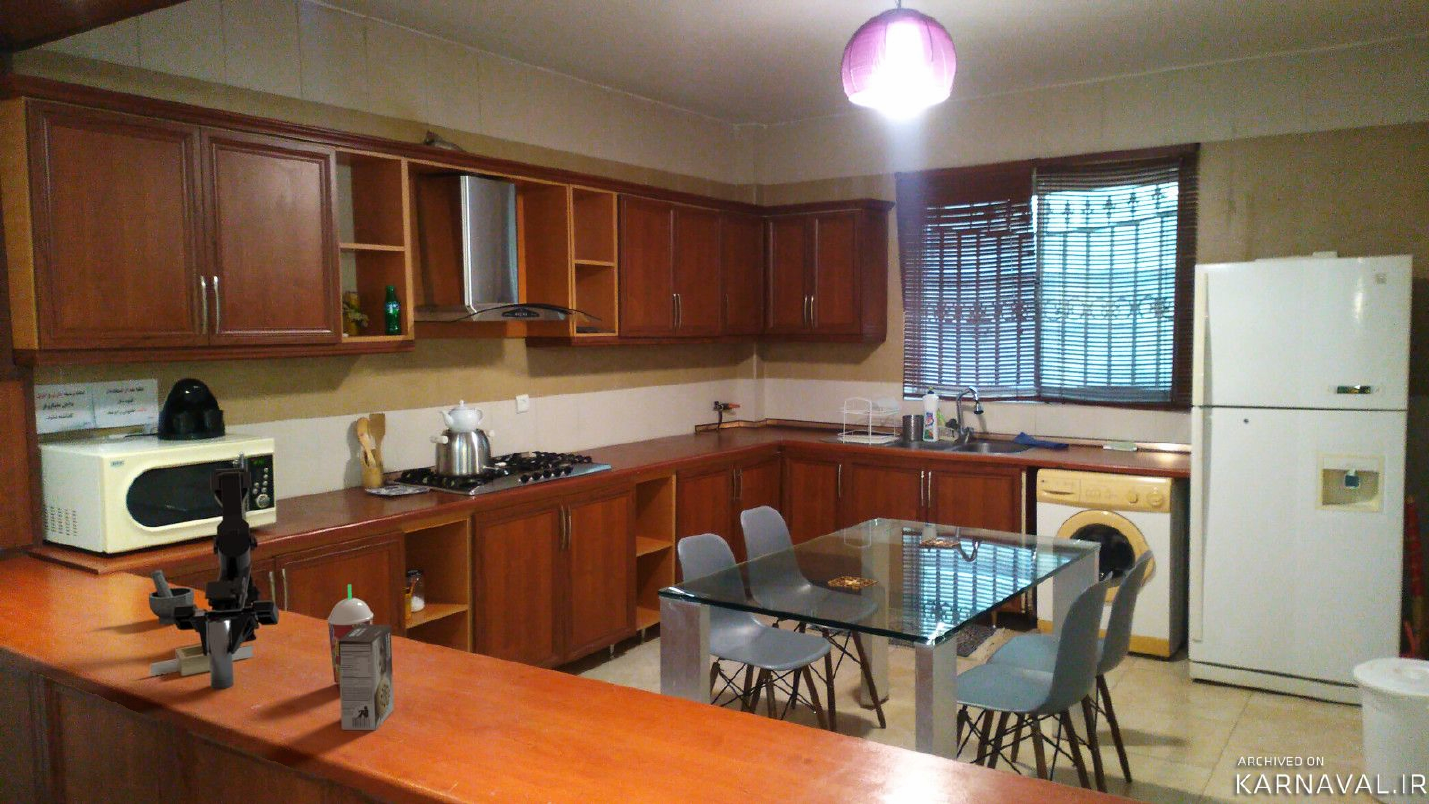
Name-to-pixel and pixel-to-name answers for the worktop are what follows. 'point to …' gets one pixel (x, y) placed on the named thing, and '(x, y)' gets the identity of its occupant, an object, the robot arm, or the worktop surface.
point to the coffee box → (366, 677)
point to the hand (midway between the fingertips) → (218, 654)
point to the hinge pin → (220, 653)
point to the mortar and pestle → (167, 598)
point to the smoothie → (346, 625)
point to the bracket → (193, 661)
